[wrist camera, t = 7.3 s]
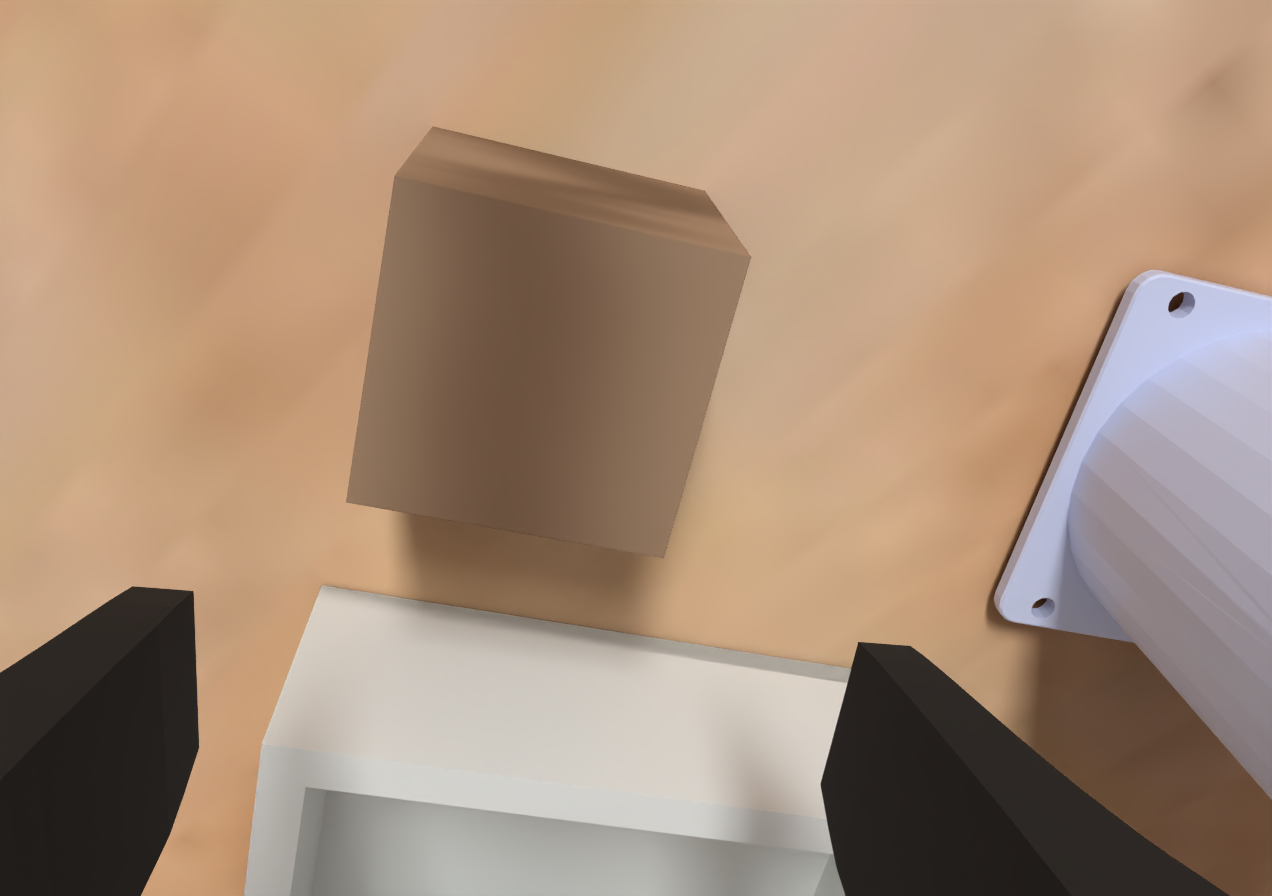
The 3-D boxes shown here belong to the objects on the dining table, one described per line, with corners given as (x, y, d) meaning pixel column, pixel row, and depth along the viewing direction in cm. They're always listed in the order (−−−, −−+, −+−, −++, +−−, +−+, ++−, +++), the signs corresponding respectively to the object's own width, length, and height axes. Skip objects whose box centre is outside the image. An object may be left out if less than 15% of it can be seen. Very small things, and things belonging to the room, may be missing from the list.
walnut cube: (703, 190, 19) (751, 257, 15) (639, 433, 21) (663, 558, 17) (433, 126, 18) (394, 175, 14) (391, 384, 20) (345, 502, 16)
